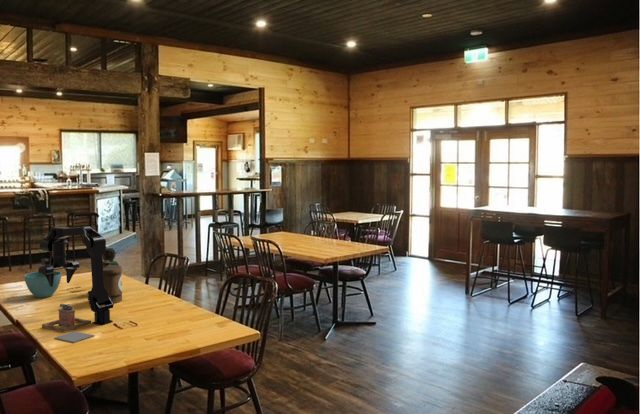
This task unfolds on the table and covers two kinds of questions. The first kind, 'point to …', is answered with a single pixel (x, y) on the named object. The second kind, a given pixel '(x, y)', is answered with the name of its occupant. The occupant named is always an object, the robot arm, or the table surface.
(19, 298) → the table surface
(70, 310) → the lighter
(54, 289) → the teal bowl
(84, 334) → the charcoal mat
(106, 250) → the spray bottle
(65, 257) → the robot arm
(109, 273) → the wooden container
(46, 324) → the square wooden frame
